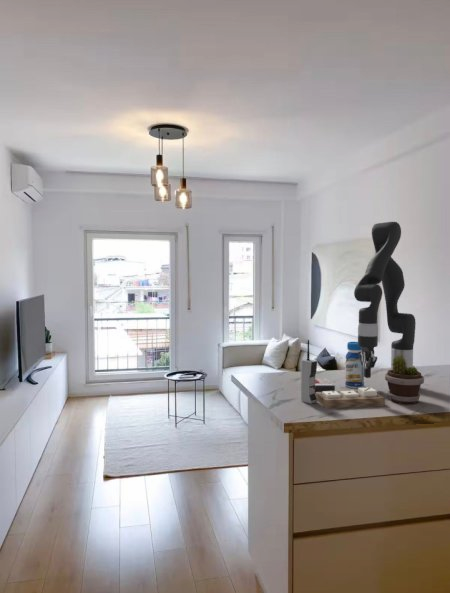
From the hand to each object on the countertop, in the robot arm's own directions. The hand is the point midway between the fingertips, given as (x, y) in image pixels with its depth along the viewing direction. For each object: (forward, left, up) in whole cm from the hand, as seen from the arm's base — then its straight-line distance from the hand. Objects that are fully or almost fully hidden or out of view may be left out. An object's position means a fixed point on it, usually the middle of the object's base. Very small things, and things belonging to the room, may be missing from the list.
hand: (367, 377), depth 184 cm
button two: (+15, 0, -8) cm, 17 cm away
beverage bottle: (-5, -24, -10) cm, 26 cm away
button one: (+8, 0, -8) cm, 11 cm away
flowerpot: (-15, +1, -10) cm, 18 cm away
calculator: (+13, -21, -11) cm, 27 cm away
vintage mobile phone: (+23, -3, -10) cm, 25 cm away
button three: (0, 0, -7) cm, 7 cm away
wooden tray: (+8, 0, -10) cm, 12 cm away
